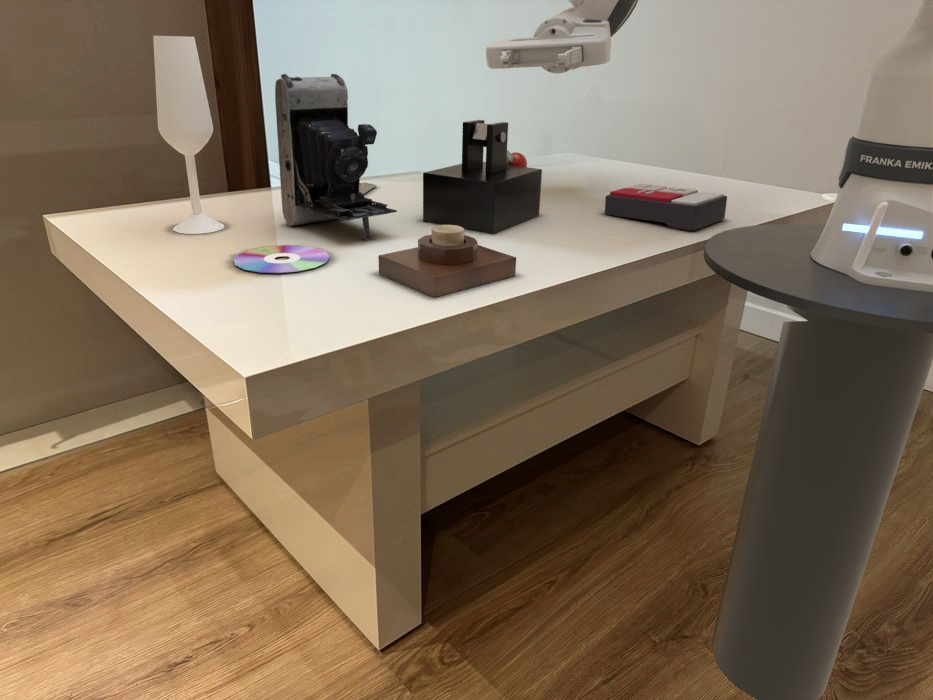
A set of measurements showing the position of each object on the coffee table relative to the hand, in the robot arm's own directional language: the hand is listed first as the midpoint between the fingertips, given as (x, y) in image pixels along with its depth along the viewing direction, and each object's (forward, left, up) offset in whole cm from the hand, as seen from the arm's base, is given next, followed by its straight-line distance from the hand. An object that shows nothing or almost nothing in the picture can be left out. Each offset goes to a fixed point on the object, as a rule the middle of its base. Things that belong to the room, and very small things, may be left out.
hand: (532, 61), depth 109 cm
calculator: (-23, -3, -22) cm, 32 cm away
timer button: (-12, +41, -18) cm, 46 cm away
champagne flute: (+27, +44, -22) cm, 56 cm away
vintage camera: (+11, +33, -22) cm, 41 cm away
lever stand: (-1, +15, -22) cm, 26 cm away
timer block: (-12, +41, -22) cm, 47 cm away
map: (+25, +16, -22) cm, 37 cm away
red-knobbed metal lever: (-1, +10, -14) cm, 17 cm away
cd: (+7, +48, -22) cm, 53 cm away
